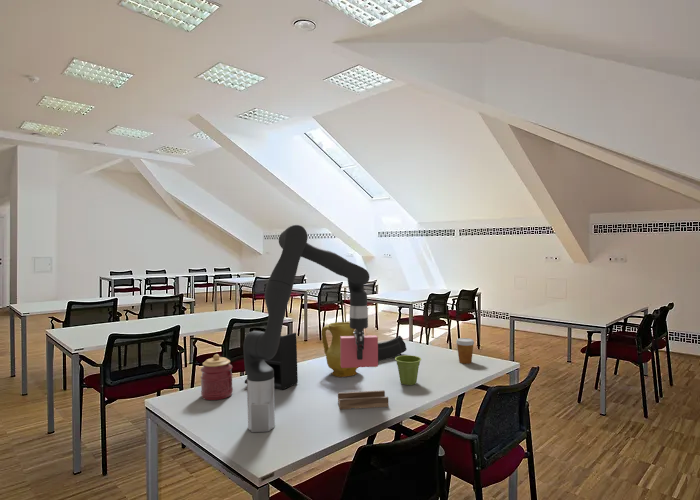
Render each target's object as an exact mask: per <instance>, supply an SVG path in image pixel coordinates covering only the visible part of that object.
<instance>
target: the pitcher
mask: <svg viewBox="0 0 700 500" xmlns="http://www.w3.org/2000/svg"><path fill="white" fill-rule="evenodd" d="M327 331H329V332H330V334H331V336H332V337H331V342H330V345H329V344H328V340H327ZM354 331H355V329H352V328H350V321H338V322H330V323H329V324H327V325H325V326H323V327H322V329H321V340H322V344H323V345H322V346H323V350H324V351H323V352H324V354H325V358H326V359H325V361H326V363H327V366H328V368H329V369H331V370H332V372H331V375H332V376H333V377H340V378H343V377H344V378H345V377H353V376H355V375H357V374H358V373H357V369H358V368H360V367H353V368H341V361H340V336H354Z"/></svg>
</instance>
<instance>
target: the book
mask: <svg viewBox="0 0 700 500" xmlns="http://www.w3.org/2000/svg"><path fill="white" fill-rule="evenodd" d="M357 342H358V341H357ZM378 343H379V337H378V336H377V335H376V334H375V335H374V334H371V335H364V350H363V359H362V360H358V359H357V345H356V344H355V337H354V336H340V361H341V368H353V367H359V368H371V367H372V368H374V367H375V368H376V367H379V361H378ZM359 347H361V345H359Z"/></svg>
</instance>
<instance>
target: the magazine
mask: <svg viewBox="0 0 700 500" xmlns="http://www.w3.org/2000/svg"><path fill="white" fill-rule="evenodd" d="M406 351H407V345H406V343H405V341H404V339H403V337H402V336H401V335H398V336H397V337H395V338H393V339H391V340H387V341H384V342H378V362H379V361H384V360H389V359H392V358H396V357H398V356H402V354H403V353H405V352H406Z"/></svg>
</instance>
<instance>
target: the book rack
mask: <svg viewBox="0 0 700 500" xmlns="http://www.w3.org/2000/svg"><path fill="white" fill-rule="evenodd" d="M385 393H386V390H381V389H380V390H365V391H345V392H344V391H343V392H341V391H340V392H337V401H338V402H337V403H338V407H339V410H350V409H351V408H355V409H366V408H367V409H370V408H373V409H374V408H386V407H387V408H389V397H388V396H386V394H385ZM351 410H352V409H351Z"/></svg>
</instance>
